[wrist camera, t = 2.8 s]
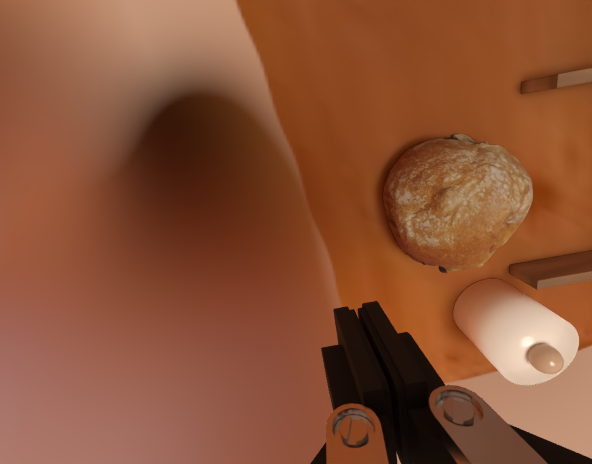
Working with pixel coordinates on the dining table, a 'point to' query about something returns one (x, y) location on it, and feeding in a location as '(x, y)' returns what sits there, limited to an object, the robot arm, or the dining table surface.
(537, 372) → the pot
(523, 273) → the open rail frame
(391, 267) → the dining table surface
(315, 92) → the dining table surface
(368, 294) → the dining table surface
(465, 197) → the bread roll
